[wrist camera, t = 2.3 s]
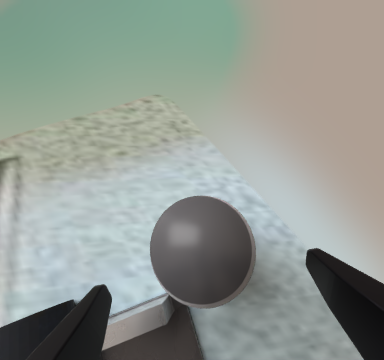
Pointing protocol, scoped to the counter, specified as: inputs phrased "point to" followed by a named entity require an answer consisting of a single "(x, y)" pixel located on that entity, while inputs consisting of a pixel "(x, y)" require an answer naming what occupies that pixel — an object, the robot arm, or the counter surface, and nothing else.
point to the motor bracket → (152, 332)
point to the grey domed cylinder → (202, 251)
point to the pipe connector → (31, 331)
